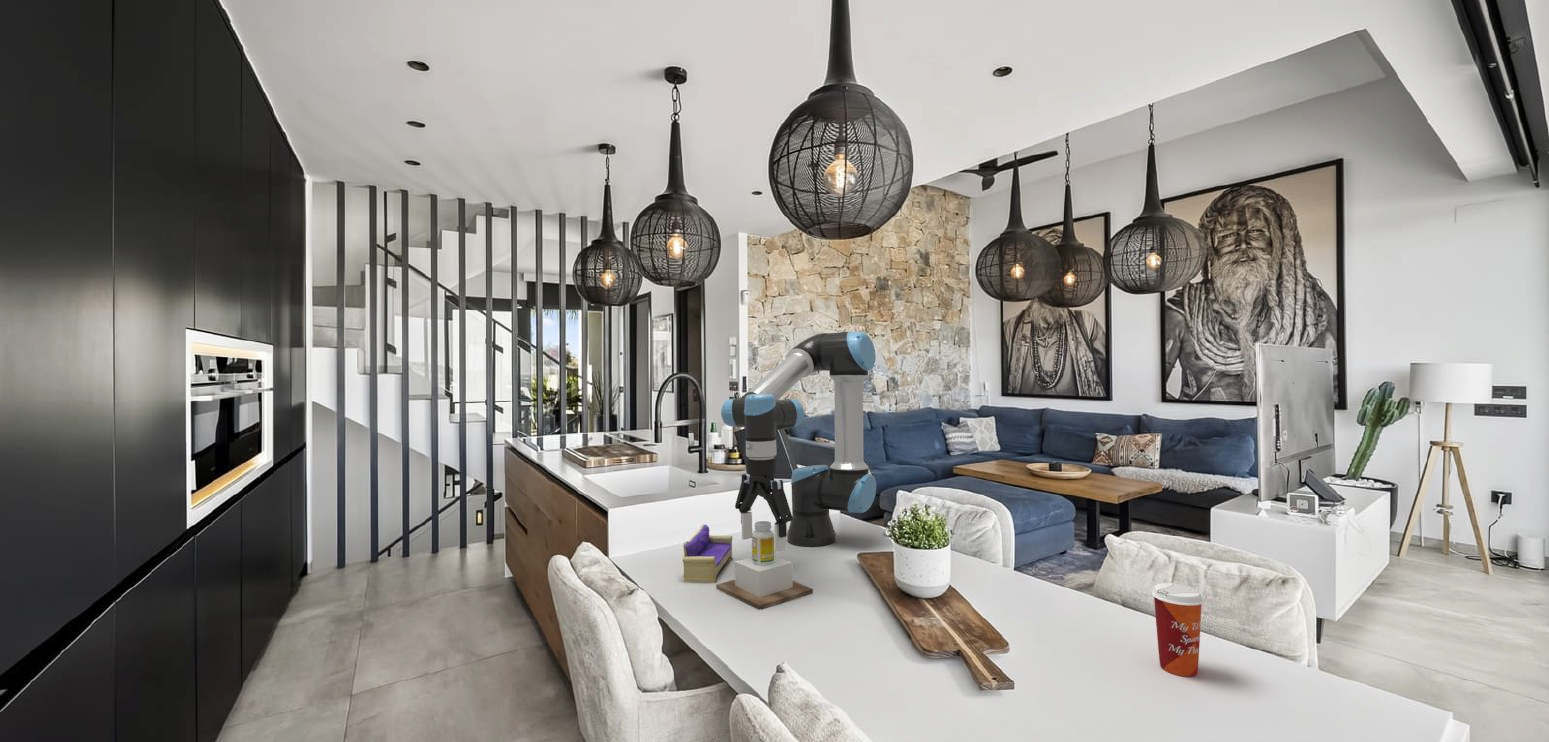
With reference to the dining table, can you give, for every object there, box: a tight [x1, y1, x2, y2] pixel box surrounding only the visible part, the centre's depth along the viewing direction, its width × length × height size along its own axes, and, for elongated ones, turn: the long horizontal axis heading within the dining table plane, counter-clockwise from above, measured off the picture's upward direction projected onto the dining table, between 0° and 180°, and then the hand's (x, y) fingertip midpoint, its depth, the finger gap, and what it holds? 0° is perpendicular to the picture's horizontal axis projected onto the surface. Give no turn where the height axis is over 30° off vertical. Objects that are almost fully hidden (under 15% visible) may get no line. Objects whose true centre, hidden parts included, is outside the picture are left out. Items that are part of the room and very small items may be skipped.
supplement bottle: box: [751, 520, 775, 565], centre depth 153 cm, size 5×5×10 cm
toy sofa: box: [682, 524, 733, 583], centre depth 170 cm, size 21×9×10 cm, turn 171°
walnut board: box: [715, 579, 814, 611], centre depth 153 cm, size 16×18×1 cm
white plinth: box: [734, 555, 794, 597], centre depth 153 cm, size 10×10×6 cm
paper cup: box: [1151, 582, 1205, 678], centre depth 110 cm, size 8×8×14 cm
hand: (763, 544), depth 153 cm, fingers open, 13 cm apart
